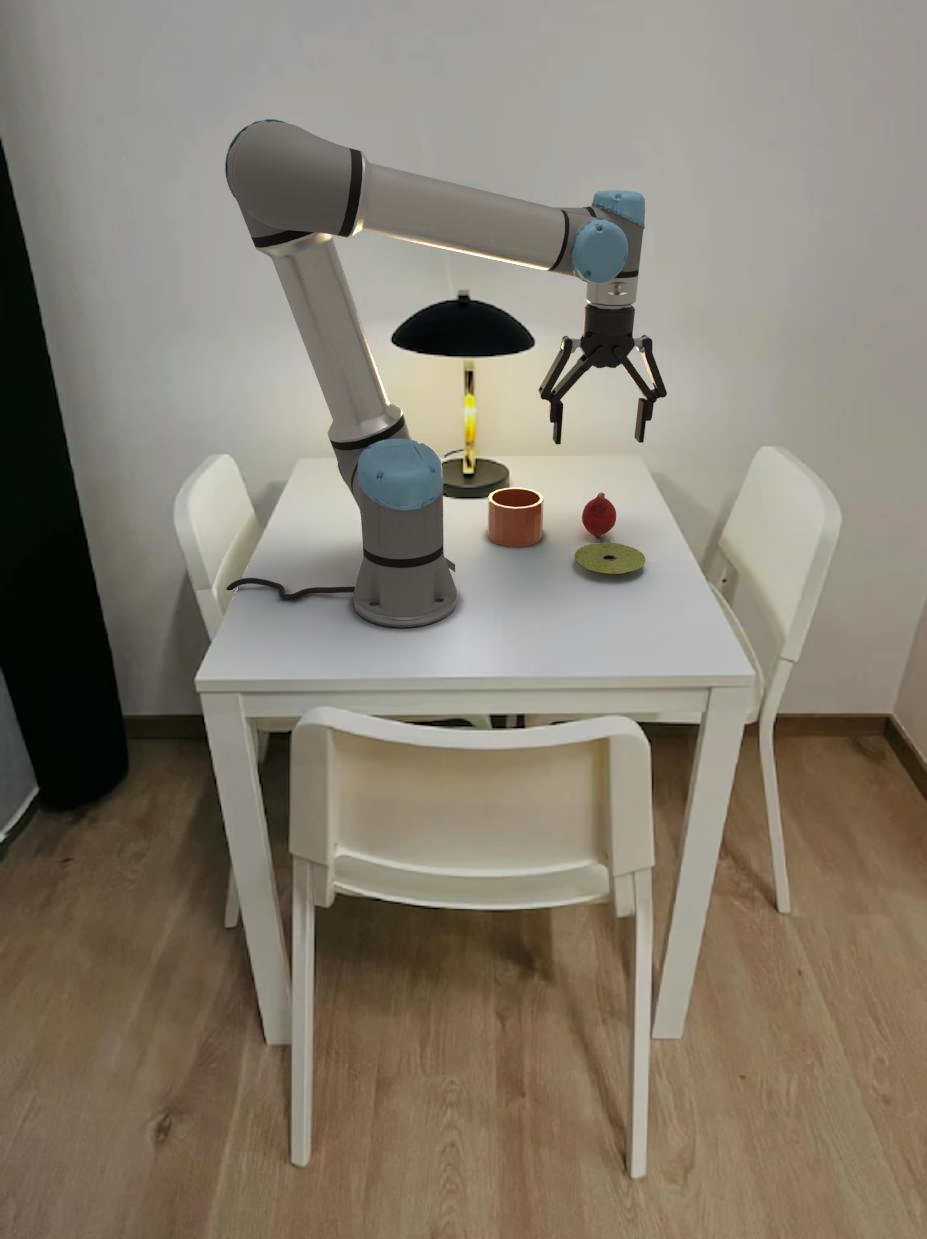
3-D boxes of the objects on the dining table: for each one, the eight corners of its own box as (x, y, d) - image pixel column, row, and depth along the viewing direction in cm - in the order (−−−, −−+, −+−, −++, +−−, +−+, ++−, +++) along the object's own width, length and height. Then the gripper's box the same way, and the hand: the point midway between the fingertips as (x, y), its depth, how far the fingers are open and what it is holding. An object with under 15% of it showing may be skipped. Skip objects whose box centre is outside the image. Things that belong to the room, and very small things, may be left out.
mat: (640, 587, 140) (641, 576, 139) (567, 579, 143) (568, 567, 142) (647, 557, 150) (649, 546, 149) (579, 549, 152) (580, 538, 151)
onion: (613, 545, 154) (617, 500, 150) (579, 542, 155) (582, 498, 151) (615, 531, 159) (619, 488, 155) (582, 528, 160) (585, 485, 156)
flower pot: (491, 548, 153) (492, 509, 149) (484, 526, 161) (485, 488, 157) (546, 545, 154) (547, 507, 150) (536, 523, 162) (537, 486, 158)
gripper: (532, 309, 133) (525, 450, 143) (698, 308, 135) (680, 446, 146) (524, 300, 139) (518, 435, 150) (682, 299, 142) (665, 432, 152)
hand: (597, 441), depth 148 cm, fingers open, 13 cm apart
